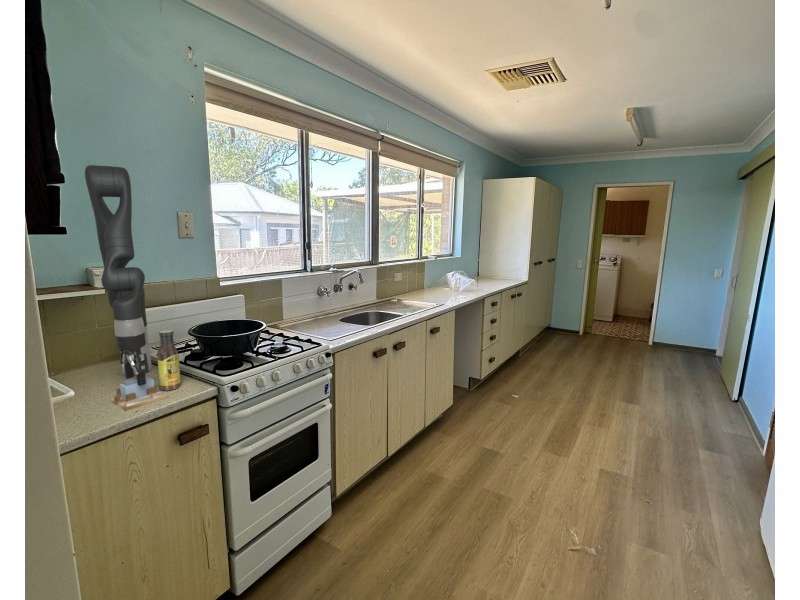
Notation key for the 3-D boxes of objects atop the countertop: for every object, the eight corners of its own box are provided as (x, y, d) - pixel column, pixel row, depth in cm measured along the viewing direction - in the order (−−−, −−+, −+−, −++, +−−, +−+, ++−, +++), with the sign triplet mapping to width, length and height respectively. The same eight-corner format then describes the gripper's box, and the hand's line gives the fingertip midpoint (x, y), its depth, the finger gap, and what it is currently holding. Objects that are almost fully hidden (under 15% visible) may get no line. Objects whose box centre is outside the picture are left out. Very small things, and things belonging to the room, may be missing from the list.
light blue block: (121, 397, 122) (119, 381, 121) (149, 389, 128) (147, 373, 127) (126, 401, 119) (124, 384, 118) (154, 392, 126) (153, 376, 125)
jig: (110, 401, 121) (109, 390, 121) (150, 389, 131) (149, 379, 130) (125, 411, 115) (123, 400, 115) (166, 397, 125) (165, 387, 124)
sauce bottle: (171, 392, 128) (165, 334, 125) (155, 390, 130) (149, 333, 126) (185, 384, 135) (180, 329, 131) (170, 383, 136) (164, 328, 132)
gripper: (106, 330, 121) (112, 379, 124) (126, 339, 113) (132, 391, 116) (133, 325, 127) (138, 372, 130) (154, 333, 119) (159, 383, 122)
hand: (135, 381), depth 123 cm, fingers open, 8 cm apart
